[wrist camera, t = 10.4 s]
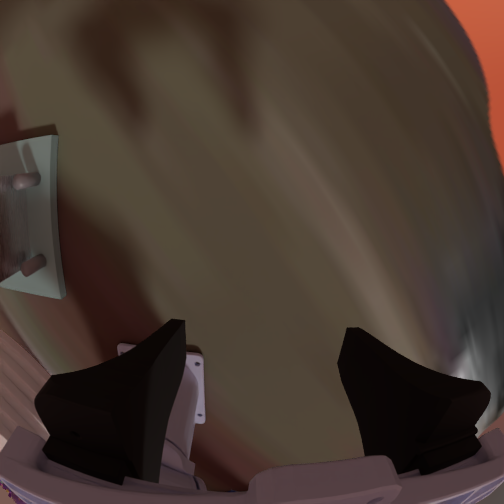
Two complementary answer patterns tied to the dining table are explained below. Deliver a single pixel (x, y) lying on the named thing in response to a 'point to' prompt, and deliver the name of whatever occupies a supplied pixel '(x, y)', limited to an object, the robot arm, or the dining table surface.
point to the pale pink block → (13, 228)
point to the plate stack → (19, 390)
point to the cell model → (12, 494)
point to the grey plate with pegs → (37, 214)
